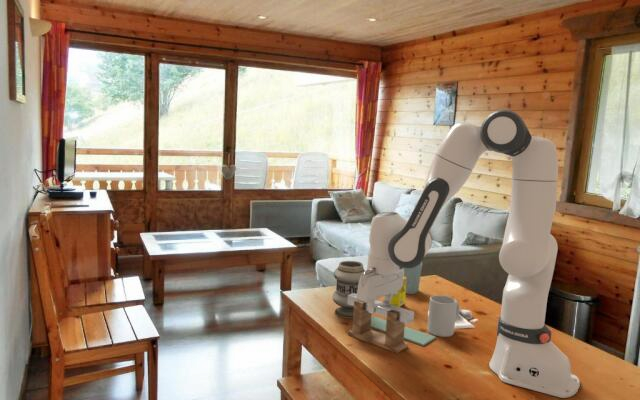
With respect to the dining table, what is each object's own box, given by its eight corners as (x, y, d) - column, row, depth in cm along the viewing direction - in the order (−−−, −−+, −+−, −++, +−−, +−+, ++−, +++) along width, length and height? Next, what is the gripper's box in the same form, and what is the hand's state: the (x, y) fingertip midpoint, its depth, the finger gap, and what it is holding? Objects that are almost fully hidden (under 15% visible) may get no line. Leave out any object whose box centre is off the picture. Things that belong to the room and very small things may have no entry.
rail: (413, 321, 143) (414, 311, 142) (408, 324, 140) (409, 314, 140) (352, 302, 157) (353, 293, 156) (347, 304, 154) (347, 295, 154)
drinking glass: (395, 292, 197) (397, 263, 195) (395, 285, 206) (397, 257, 205) (420, 295, 195) (423, 266, 193) (419, 287, 205) (422, 260, 203)
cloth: (467, 334, 159) (468, 316, 158) (416, 318, 171) (418, 301, 170) (493, 317, 176) (494, 301, 175) (445, 303, 188) (447, 288, 187)
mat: (435, 338, 154) (435, 336, 154) (423, 346, 148) (423, 344, 147) (372, 317, 169) (372, 315, 169) (358, 323, 163) (358, 321, 163)
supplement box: (405, 305, 183) (407, 277, 181) (398, 309, 178) (400, 280, 176) (390, 301, 186) (392, 273, 184) (383, 306, 181) (385, 277, 179)
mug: (441, 339, 154) (444, 305, 152) (421, 329, 161) (424, 297, 159) (466, 332, 160) (469, 299, 159) (447, 323, 167) (449, 292, 166)
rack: (407, 347, 146) (410, 310, 145) (397, 353, 142) (400, 315, 140) (359, 329, 158) (361, 295, 156) (347, 334, 153) (349, 299, 152)
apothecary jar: (325, 309, 174) (327, 260, 171) (353, 305, 180) (355, 257, 177) (343, 321, 163) (346, 269, 161) (372, 316, 170) (376, 266, 167)
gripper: (371, 274, 137) (368, 321, 139) (408, 261, 152) (405, 304, 154) (353, 269, 141) (350, 315, 143) (391, 257, 156) (388, 299, 158)
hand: (379, 309), depth 148 cm, fingers open, 6 cm apart
